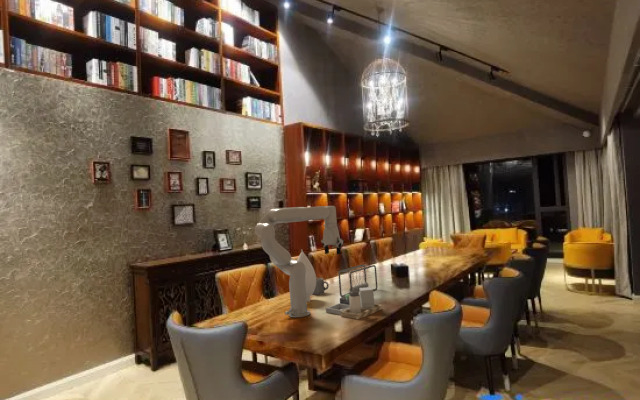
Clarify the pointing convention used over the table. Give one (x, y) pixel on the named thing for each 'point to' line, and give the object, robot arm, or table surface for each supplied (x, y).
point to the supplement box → (366, 298)
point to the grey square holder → (344, 301)
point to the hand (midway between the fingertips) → (332, 253)
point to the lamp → (308, 275)
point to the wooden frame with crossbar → (363, 312)
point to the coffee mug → (320, 286)
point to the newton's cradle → (356, 288)
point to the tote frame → (334, 308)
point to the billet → (354, 302)
